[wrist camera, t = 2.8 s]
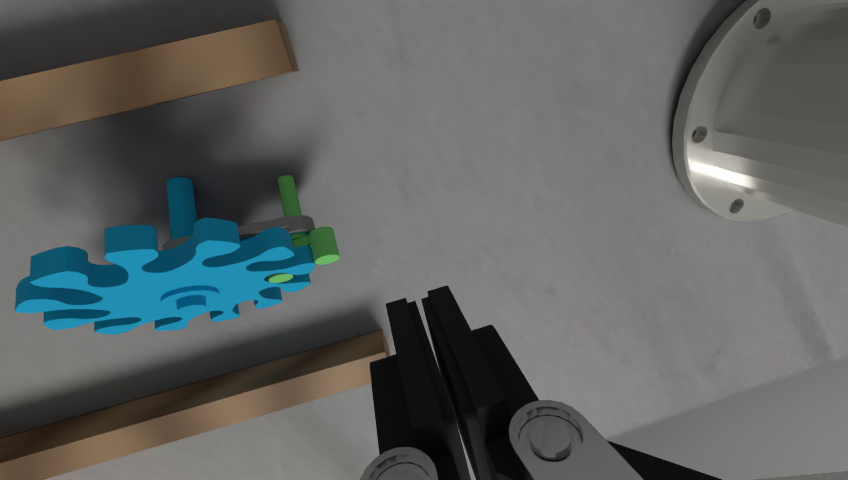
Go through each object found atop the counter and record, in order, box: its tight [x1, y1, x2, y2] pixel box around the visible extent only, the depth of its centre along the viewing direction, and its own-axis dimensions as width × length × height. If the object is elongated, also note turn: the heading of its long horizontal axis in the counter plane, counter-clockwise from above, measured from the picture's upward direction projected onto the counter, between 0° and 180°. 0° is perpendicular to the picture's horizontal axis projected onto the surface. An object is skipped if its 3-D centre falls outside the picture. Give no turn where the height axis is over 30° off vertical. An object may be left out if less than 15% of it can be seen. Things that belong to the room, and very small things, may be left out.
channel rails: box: [0, 19, 390, 480], centre depth 18 cm, size 23×18×2 cm
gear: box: [15, 175, 339, 334], centre depth 17 cm, size 11×6×10 cm
